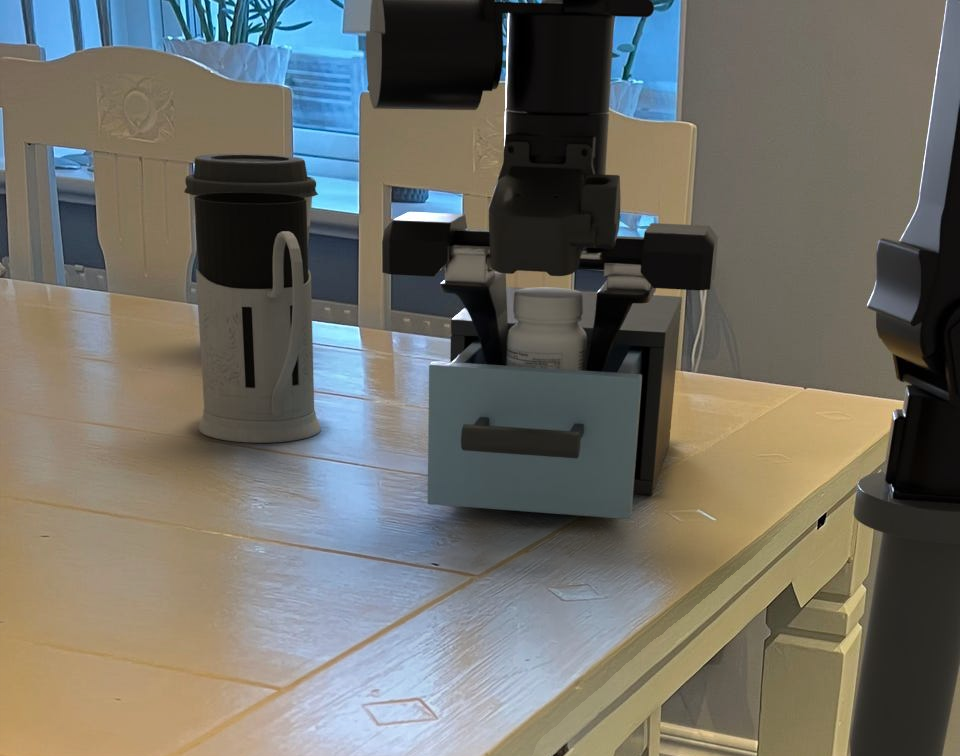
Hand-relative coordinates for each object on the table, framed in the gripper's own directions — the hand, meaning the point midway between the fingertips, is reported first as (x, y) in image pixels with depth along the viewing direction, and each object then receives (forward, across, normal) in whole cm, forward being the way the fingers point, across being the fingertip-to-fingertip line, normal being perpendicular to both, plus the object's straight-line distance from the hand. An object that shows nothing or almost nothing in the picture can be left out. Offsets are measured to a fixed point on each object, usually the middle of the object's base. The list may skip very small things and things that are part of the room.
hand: (544, 407), depth 96 cm
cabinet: (+6, 0, +12) cm, 13 cm away
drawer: (+5, 0, -1) cm, 5 cm away
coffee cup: (+6, -32, +46) cm, 56 cm away
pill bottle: (+2, 0, 0) cm, 2 cm away
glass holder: (+6, -21, +13) cm, 25 cm away
